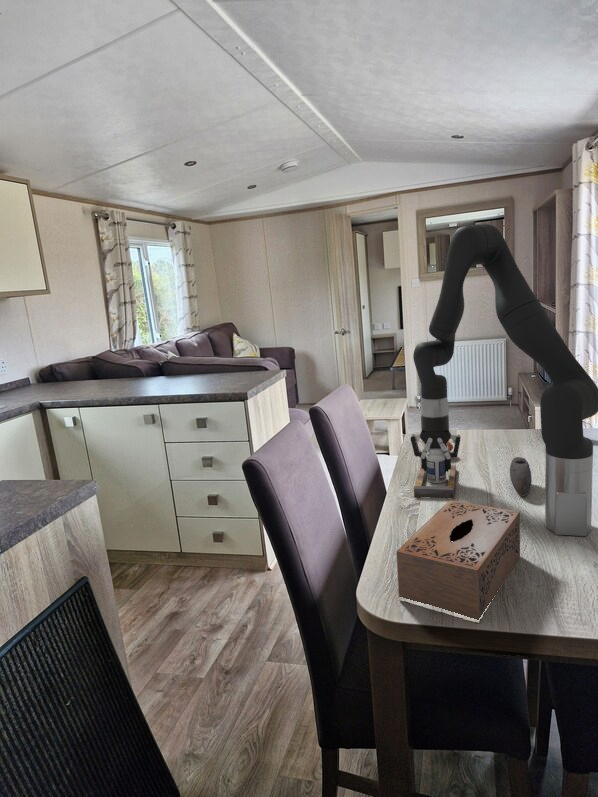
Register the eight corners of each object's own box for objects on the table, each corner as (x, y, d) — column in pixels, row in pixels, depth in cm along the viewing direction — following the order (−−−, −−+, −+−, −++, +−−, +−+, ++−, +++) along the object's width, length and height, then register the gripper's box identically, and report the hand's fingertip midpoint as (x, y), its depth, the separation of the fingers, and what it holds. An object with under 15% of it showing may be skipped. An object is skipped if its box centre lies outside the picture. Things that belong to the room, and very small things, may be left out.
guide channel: (453, 498, 143) (453, 489, 142) (414, 497, 146) (413, 488, 145) (455, 470, 163) (455, 462, 163) (421, 469, 166) (420, 461, 166)
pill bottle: (444, 476, 159) (443, 444, 157) (447, 483, 154) (446, 450, 152) (425, 477, 160) (424, 445, 157) (428, 484, 154) (426, 451, 152)
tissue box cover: (478, 625, 91) (477, 570, 89) (399, 602, 100) (396, 551, 98) (520, 557, 112) (519, 511, 110) (451, 543, 120) (449, 500, 118)
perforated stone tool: (533, 501, 137) (533, 474, 136) (511, 500, 139) (510, 474, 138) (529, 480, 151) (529, 455, 150) (509, 479, 153) (509, 455, 151)
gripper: (406, 416, 151) (409, 474, 155) (461, 416, 147) (462, 476, 150) (409, 409, 158) (412, 465, 162) (461, 409, 154) (463, 466, 157)
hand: (436, 470), depth 156 cm, fingers closed on pill bottle, 5 cm apart
